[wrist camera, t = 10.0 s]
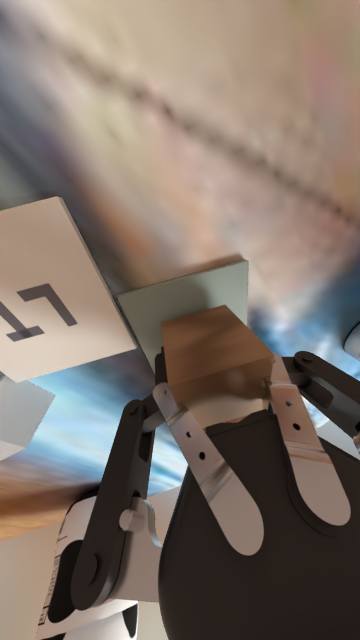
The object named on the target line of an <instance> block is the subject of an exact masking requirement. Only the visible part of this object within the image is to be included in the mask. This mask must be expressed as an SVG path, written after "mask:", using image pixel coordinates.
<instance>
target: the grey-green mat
mask: <svg viewBox="0 0 360 640" xmlns="http://www.w3.org/2000/svg"><path fill="white" fill-rule="evenodd" d="M247 298H248V261H247V260H241V261H237V262H234V263H230V264H227V265H223V266H219V267H216V268H212V269H209V270H205V271H201V272H198V273H194V274H190V275H187V276H183V277H180V278H176V279H172V280H169V281H165V282H162V283H158V284H154V285H151V286H147V287H143V288H140V289H136V290H133V291H129V292H125V293H122V294H118V296H117V299H118V301H119V303H120V305H121V307H122V309H123V311H124V313H125V315H126V317H127V319H128V321H129V323H130V325H131V327H132V329H133V331H134V333H135V335H136V337H137V339H138V341H139V343H140V345H141V347H142V349H143V351H144V353H145V355H146V357H147V359H148V361H149V363H150V366H151V368H152V370H153V372H154V374H155V357H156V355H157V354H159V353H161V347H162V346H164V345H163V336H162V328H161V322H165V321H168V320H172V319H175V318H179V317H183V316H186V315H190V314H193V313H197V312H200V311H204V310H207V309H211V308H214V307H218V306H221V305H226V306H227V307H228V308H229V309H230V310H231V311H232V312H233V313H234V314H235V315H236V316H237V317H238V318H239V319H240V320H241V321H242V322H243V323H244V324H245V325H246V326H247Z"/></svg>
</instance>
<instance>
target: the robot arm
mask: <svg viewBox="0 0 360 640" xmlns="http://www.w3.org/2000/svg"><path fill="white" fill-rule="evenodd" d="M344 349H345V352H346V353H347V354H349V355H350V356H352V357H354V358H355V359H357V360H358V361H360V324H359V325H358V326H357V327H356V328H355V329H354V330H353V331H352V332H351V334H350V335H349V337H348V338H347V340H346V343H345V348H344ZM272 353H273V352H272ZM273 354H274V355H275V356H274V362H273V368H272V373H271V375H269V376H266V377H265V378H264V384H265V395H262V405H263V410H260V411H257V412H253V413H251V414H249V415H248V416H246V417H245V418H244V419H242V420H241V421H239V422H236V423H217V424H214V425H211V426H207V427H206V431H207V432H204V430H203V429H202V428H201V426H200V425H199V423H198V422H197V420H196V419H195V418H194V416H193V415H192V413H191V412H190V410H189V409H188V408H187V407H186V406H185V405H184V404H183V403H182V402H178V403H176V402H175V400H174V398H173V395H172V393H171V391H170V389H169V387H168V378H167V370H166V362H165V353H164V346H162V347H161V353H159V354H157V355H156V357H155V384H156V385H155V388H154V390H153V393H152V394H151V395H150V396H148V397H147V398H145V399H144V400H142V401H140V400H138V399H135V400H132V401H130V402H129V403H128V404H127V405H126V406H125V408H124V410H123V413H122V416H121V420H120V423H119V426H118V429H117V432H116V436H115V439H114V442H113V445H112V449H111V452H110V455H109V458H108V462H107V465H106V468H105V471H104V474H103V478H102V481H101V484H100V487H99V491H98V494H97V497H96V500H95V503H94V507H93V510H92V513H91V516H90V520H89V523H88V526H87V529H86V532H85V536H84V539H83V542H82V545H81V549H80V552H79V555H78V558H77V561H76V565H75V568H74V572H73V575H72V581H71V599H72V603H73V605H74V607H75V608H76V609H77V610H79V611H83V610H87V609H89V608H92V607H93V608H96V607H99V606H102V605H104V604H107V603H109V602H112V601H113V600H115V599H121V600H133V601H146V602H158V603H159V605H160V611H161V616H162V620H163V624H164V627H165V630H166V633H167V636H168V639H169V640H360V460H358V459H357V458H355V457H353V456H352V455H350V454H348V453H346V452H344V451H343V450H341V449H340V448H338V447H336V446H334V445H333V444H331V443H329V442H328V441H326V440H324V439H323V438H321V437H319V436H317V433H316V431H315V428H314V426H313V424H312V421H311V419H310V416H309V414H308V412H307V409H306V407H305V404H304V402H303V400H302V397H301V395H302V396H303V397H304V398H305V399H307V400H308V401H309V402H310V403H311V404H312V405H314V406H315V407H316V408H317V409H318V410H319V411H321V412H322V413H323V414H324V415H325V416H326V417H328V418H329V419H330V420H331V421H332V422H333V423H335V424H336V425H337V426H338V427H339V428H341V429H342V430H343V431H344V432H345V433H347V434H348V435H349V436H350V437H351V438H352V439H353V440H354V444H355V446H356V448H357V450H358V452H359V454H360V381H358V380H357V379H355V378H353V377H352V376H350V375H348V374H347V373H345V372H343V371H342V370H340V369H338V368H337V367H335V366H333V365H332V364H330V363H328V362H326V361H325V360H323V359H321V358H320V357H318V356H316V355H315V354H313V353H310V352H307V351H299V352H297V353H296V354H295V355H294V357H280V356H279V355H278V354H276V353H273ZM320 384H321V385H320ZM300 394H301V395H300ZM165 421H166V422H167V425H168V427H169V428H170V430H171V432H172V434H173V436H174V438H175V440H176V442H177V444H178V446H179V448H180V450H181V451H182V453H183V455H184V457H185V459H186V461H187V463H188V467H187V470H186V473H185V477H184V480H183V483H182V486H181V489H180V492H179V496H178V499H177V502H176V505H175V508H174V512H173V515H172V518H171V521H170V524H169V528H168V531H167V534H166V537H165V540H164V544H163V545H162V544H161V543H160V542H159V539H158V537H157V534H156V530H155V513H154V509H153V507H152V505H151V504H150V503H149V502H148V501H146V498H147V490H148V482H149V475H150V467H151V459H152V452H153V444H154V436H155V429H156V428H157V427H158V426H159V425H161V424H162V423H163V422H165Z"/></svg>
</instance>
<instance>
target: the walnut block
mask: <svg viewBox="0 0 360 640" xmlns="http://www.w3.org/2000/svg"><path fill="white" fill-rule="evenodd" d="M161 328H162V336H163V345H164V353H165V362H166V370H167V378H168V387H169V389H170V391H171V393H172V395H173V398H174V400H175V402H176V403H178V402H182V403H183V404H184V405H185V406H186V407H187V408H188V409H189V410H190V412H191V413H192V415H193V416H194V418H195V419H196V420H197V422H198V423H199V425H200V426H201V428H202V429H203V428H206V427H207V426H211V425H214V424H217V423H222V422H226V421H229V420H232V419H236V418H239V417H242V416H246V415H249V414H251V413H253V412H257V411H260V410H263V405H262V395H265V384H264V378H265V377H266V376H269V375H271V373H272V368H273V362H274V356H275V355H274V354H273V353H272V352H271V351H270V350H269V349H268V348H267V347H266V346H265V345H264V344H263V343H262V342H261V341H260V339H259V338H258V337H257V336H256V335H255V334H254V333H253V332H252V331H251V330H250V329H249V328H248V327H247V326H246V325H245V324H244V323H243V322H242V321H241V320H240V319H239V318H238V317H237V316H236V315H235V314H234V313H233V312H232V311H231V310H230V309H229V308H228V307H227V306H226V305H221V306H218V307H214V308H211V309H207V310H204V311H200V312H197V313H193V314H190V315H186V316H183V317H179V318H175V319H172V320H168V321H165V322H161Z"/></svg>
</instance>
